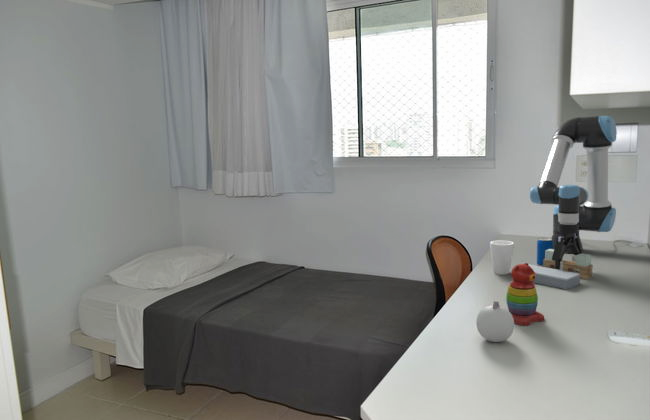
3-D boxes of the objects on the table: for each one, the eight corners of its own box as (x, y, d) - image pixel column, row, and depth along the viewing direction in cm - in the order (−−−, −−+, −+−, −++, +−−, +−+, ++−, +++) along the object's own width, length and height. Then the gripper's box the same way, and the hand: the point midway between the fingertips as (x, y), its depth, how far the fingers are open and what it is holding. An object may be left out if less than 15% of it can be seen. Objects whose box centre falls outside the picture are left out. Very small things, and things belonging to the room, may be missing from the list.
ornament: (509, 350, 137) (509, 308, 135) (472, 343, 142) (472, 303, 140) (517, 337, 145) (517, 297, 143) (481, 331, 151) (481, 293, 149)
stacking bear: (523, 327, 152) (524, 270, 150) (498, 317, 161) (498, 264, 159) (547, 319, 157) (548, 265, 155) (521, 310, 166) (522, 258, 164)
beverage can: (549, 263, 222) (550, 237, 221) (554, 267, 216) (555, 240, 214) (534, 263, 223) (535, 237, 221) (539, 267, 217) (539, 240, 215)
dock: (526, 273, 209) (526, 263, 209) (579, 283, 192) (579, 273, 191) (513, 277, 203) (513, 268, 203) (566, 289, 186) (566, 279, 185)
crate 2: (580, 263, 203) (580, 253, 202) (590, 264, 199) (591, 255, 199) (575, 264, 200) (576, 255, 200) (585, 266, 197) (586, 256, 196)
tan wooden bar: (549, 268, 214) (549, 257, 214) (592, 276, 200) (592, 264, 199) (543, 271, 211) (543, 259, 211) (586, 279, 197) (586, 267, 196)
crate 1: (549, 257, 213) (550, 248, 212) (559, 259, 210) (559, 250, 209) (545, 259, 210) (545, 250, 210) (554, 261, 207) (554, 251, 207)
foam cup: (489, 274, 209) (489, 244, 208) (490, 269, 218) (490, 240, 216) (513, 276, 206) (513, 245, 204) (513, 270, 214) (514, 240, 212)
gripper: (574, 218, 213) (572, 266, 216) (543, 226, 198) (542, 277, 201) (592, 220, 207) (590, 269, 210) (561, 228, 192) (560, 281, 195)
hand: (566, 273), depth 205 cm, fingers open, 13 cm apart
